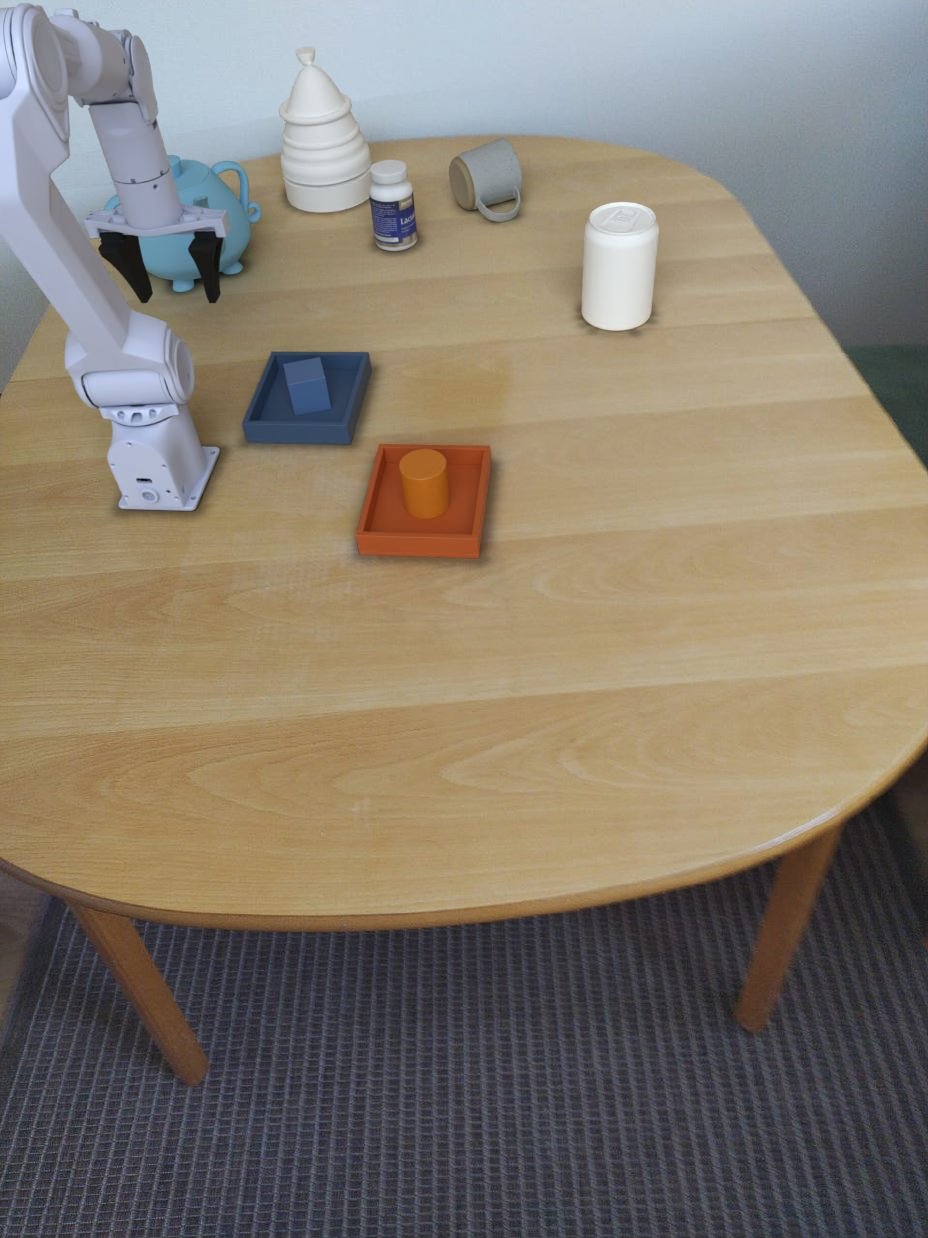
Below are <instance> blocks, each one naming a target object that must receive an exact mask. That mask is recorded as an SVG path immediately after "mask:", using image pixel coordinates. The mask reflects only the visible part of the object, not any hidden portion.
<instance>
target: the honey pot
mask: <svg viewBox="0 0 928 1238" xmlns="http://www.w3.org/2000/svg"><path fill="white" fill-rule="evenodd" d="M294 52H295V56H296V58H297V60H298V62H299V63H300V64H301V65H302V66H304V67H303V68H302V69H301V70H300V71H299V72H298V74H297V76H296V78H295V80H294V82H293V85H292V88H291V91H290V94H289V97H288V98H287V99H286V100H284V101H283V102H282V103H281V104H280V105H279V108H278V115H279V117H280V118H281V120H283V121H284V130H283V131H282V143H281V150H282V152H281V155H280V159H279V162H280V168H281V174H282V178H283V183H284V188H285V194H286V198H287V202H288V203H289V204H290V205H291V206H293V207H294V208H296V209H298V210H301V211H305V212H309V213H335V212H341V211H345V210H348V209H352V208H354V207H357V206H359V205H361V204H363V203H364V202H366V201H367V200H370V197H369V189H370V186H371V185H372V183H373V181H372V179H371V175H370V167H371V166H372V165H373V163H372V157H371V156H372V155H371V150H370V147H369V144H368V143H367V142H366V141H365V138H364V135H363V133H362V131H361V129H360V125H359V122H357V120H356V119H355V117H354V115H353V112H352V111H351V109H352V106H353V103H352V100H351V98H350V97H349V96H347V95H346V94H344V93H341V91H340V89H339V88H338V86H337V85H336V83H335V82H334V80H332V78H331V77H330V76H329V75H328V73H327V72H325V71H324V70H323V69H322V68H321V67H319V66H317V65H314V62H315V58H316V49H315V47H313V46H302V47H299V48H297V49H295V51H294Z"/></svg>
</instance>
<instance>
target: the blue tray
mask: <svg viewBox="0 0 928 1238" xmlns="http://www.w3.org/2000/svg"><path fill="white" fill-rule="evenodd" d="M318 357H320V360H321V363H322V367H323V371H324V375H325V379H326V384H327V389H328V394H329V398H330V403H331V409H328V410H323V411H317V412H312V413H307V414H302V415H297V416H295V414H294V410H293V406H292V401H291V397H290V393H289V389H288V385H287V380H286V375H285V371H284V366H283V364H287V363H292V362H297V361H302V360H308V359H313V358H318ZM371 376H372V364H371V357H370V352H369V351H286V350H285V351H284V350H283V351H277V350H276V351H275V350H274V351H273V350H272V351H270V354H269V357H268V359H267V362H266V364H265V367H264V369H263V371H262V374H261V377H260V379H259V382H258V384H257V386H256V389H255V391H254V394H253V395H252V398H251V400H250V403H249V405H248V408H247V410H246V413H245V415H244V418H243V420H242V422H241V426H242V430H243V433H244V437H245V440H246V443H247V444H292V445H294V444H296V445H297V444H298V445H345V446H346V445H350V446H351V445H352V441H353V438H354V434H355V430H356V427H357V423H358V420H359V418H360V417H359V416H360V413H361V410H362V406H363V403H364V399H365V396H366V392H367V389H368V385H369V382H370V378H371Z"/></svg>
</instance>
